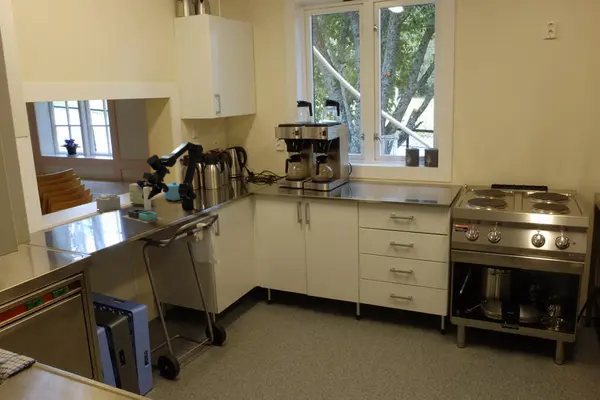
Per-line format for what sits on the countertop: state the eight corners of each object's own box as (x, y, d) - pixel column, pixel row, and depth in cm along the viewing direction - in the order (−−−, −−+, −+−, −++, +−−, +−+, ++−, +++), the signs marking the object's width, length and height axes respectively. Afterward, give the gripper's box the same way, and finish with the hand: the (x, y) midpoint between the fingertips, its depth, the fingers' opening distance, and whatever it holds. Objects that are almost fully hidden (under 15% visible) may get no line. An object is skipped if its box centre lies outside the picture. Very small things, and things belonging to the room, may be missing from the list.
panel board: (121, 218, 281) (120, 211, 280) (139, 214, 290) (139, 207, 289) (146, 224, 268) (146, 217, 267) (164, 220, 278) (164, 213, 277)
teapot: (194, 198, 334) (193, 181, 331) (169, 202, 321) (169, 184, 319) (183, 195, 342) (182, 179, 340) (159, 199, 329) (158, 182, 327)
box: (149, 202, 320) (148, 184, 318) (144, 204, 315) (143, 185, 312) (135, 201, 323) (134, 183, 320) (129, 203, 317) (128, 184, 315)
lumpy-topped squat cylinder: (94, 209, 300) (93, 195, 298) (115, 206, 310) (114, 192, 308) (104, 212, 293) (103, 197, 292) (124, 208, 303) (123, 194, 301)
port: (139, 219, 276) (138, 213, 275) (149, 216, 281) (149, 211, 280) (147, 221, 272) (146, 215, 271) (157, 218, 277) (157, 213, 276)
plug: (150, 208, 278) (149, 186, 275) (151, 209, 275) (150, 187, 272) (143, 209, 276) (142, 187, 274) (145, 210, 273) (143, 188, 270)
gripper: (138, 165, 278) (123, 188, 271) (164, 167, 270) (150, 192, 262) (149, 177, 287) (135, 200, 279) (175, 180, 278) (161, 204, 271)
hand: (145, 198), depth 273 cm, fingers closed on plug, 4 cm apart
